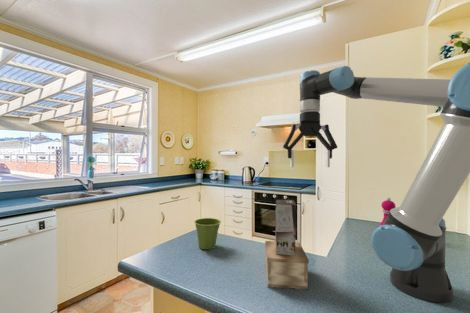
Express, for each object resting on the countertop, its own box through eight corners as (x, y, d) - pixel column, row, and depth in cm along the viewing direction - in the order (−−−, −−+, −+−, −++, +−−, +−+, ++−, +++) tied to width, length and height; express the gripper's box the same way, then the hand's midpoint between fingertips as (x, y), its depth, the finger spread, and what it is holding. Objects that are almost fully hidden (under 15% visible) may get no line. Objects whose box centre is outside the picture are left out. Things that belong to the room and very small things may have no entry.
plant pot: (214, 253, 94) (214, 226, 94) (188, 249, 98) (189, 223, 98) (224, 243, 105) (224, 219, 105) (201, 240, 109) (201, 216, 109)
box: (298, 267, 83) (299, 245, 83) (307, 289, 69) (307, 263, 69) (265, 265, 84) (265, 243, 84) (267, 287, 70) (267, 261, 70)
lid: (299, 245, 83) (299, 242, 83) (308, 263, 69) (308, 260, 69) (265, 243, 84) (265, 240, 84) (267, 261, 70) (267, 258, 70)
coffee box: (296, 256, 71) (296, 204, 71) (275, 254, 73) (275, 203, 73) (294, 245, 80) (294, 199, 80) (275, 243, 82) (275, 198, 82)
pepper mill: (380, 233, 122) (380, 195, 122) (396, 236, 118) (397, 197, 118) (379, 237, 116) (379, 197, 116) (396, 240, 112) (397, 199, 112)
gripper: (338, 114, 92) (338, 166, 92) (276, 114, 93) (276, 166, 93) (346, 110, 85) (346, 167, 84) (279, 110, 86) (278, 167, 86)
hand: (309, 167), depth 89 cm, fingers open, 13 cm apart
